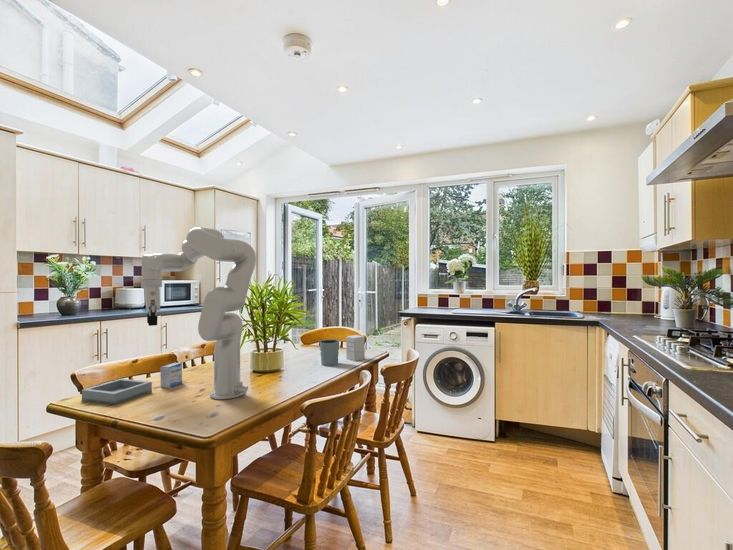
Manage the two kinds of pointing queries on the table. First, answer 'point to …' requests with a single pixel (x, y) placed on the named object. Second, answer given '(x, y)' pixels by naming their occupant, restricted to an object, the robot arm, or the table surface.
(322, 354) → the grey-green bucket
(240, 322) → the robot arm
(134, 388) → the tray
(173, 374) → the medicine box
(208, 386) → the table surface
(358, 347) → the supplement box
